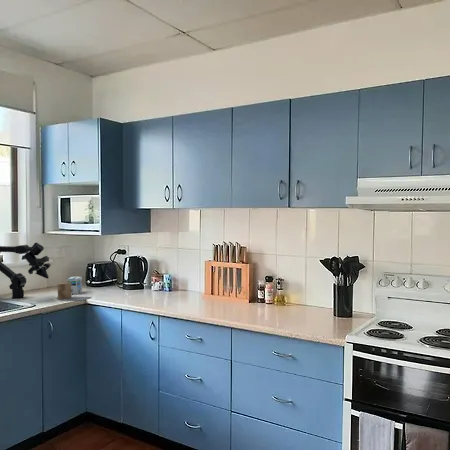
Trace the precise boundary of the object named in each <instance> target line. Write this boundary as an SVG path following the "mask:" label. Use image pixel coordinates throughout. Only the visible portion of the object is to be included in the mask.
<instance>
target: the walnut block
mask: <svg viewBox="0 0 450 450" xmlns="http://www.w3.org/2000/svg"><path fill="white" fill-rule="evenodd" d="M69 298H72V294H71V283H68V282H59V283H57V300H58V299H61V300H62V301H63V300H64V301H65V300H66V299H69ZM61 300H60V301H61Z"/></svg>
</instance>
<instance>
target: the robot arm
mask: <svg viewBox="0 0 450 450" xmlns="http://www.w3.org/2000/svg"><path fill="white" fill-rule="evenodd" d="M44 250H45V248H44V246H43V245H41V244H40V243H38V242H34V243H33V245H32V246H30V245H28V244H20V245H16V246H15V245H12V246H11V245H9V246H8V245H7V246H6V245H0V253H15V254H18V255H21V260H26V261H27V262H28V265H29V267H30V268H29V269H28V270H27V273H28V274H29V275H33V273H34V271H36V272H35V275H38V276H40V277H43V278H44V279H49V274H48V272H47V270H48V269H49V268H50V267H52V264H50V263H49V261H50V257H49V256H48V255H45V256H43V257H39V258H37V256H39V255H40V254H42V252H43V251H44ZM23 254H24V255H23ZM0 272H1V274H3V275H5V276H6V277H8V279H9V280H10V284H9V286H8V287H9V289H10V290H11V298H12V299H21V298H24V296H25V291H24V289H23V288H25V286H26V284H27V278H26V276H25V275H24V274H23V273H21V272H19V273H16V272H15V271H14V270H12V269H11V268H10V267H8V266H7V265H6V264H4V263H3V262H2V261H0Z"/></svg>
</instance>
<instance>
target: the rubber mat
mask: <svg viewBox="0 0 450 450" xmlns="http://www.w3.org/2000/svg"><path fill="white" fill-rule="evenodd" d="M91 298H92V296H71V298H69V299H66V300H67V302H83V301H86V300H89V299H91Z"/></svg>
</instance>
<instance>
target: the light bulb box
mask: <svg viewBox="0 0 450 450" xmlns="http://www.w3.org/2000/svg"><path fill="white" fill-rule="evenodd" d="M67 283H71V295H78V294H81V293H83V276H70V277H69V278H67Z"/></svg>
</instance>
